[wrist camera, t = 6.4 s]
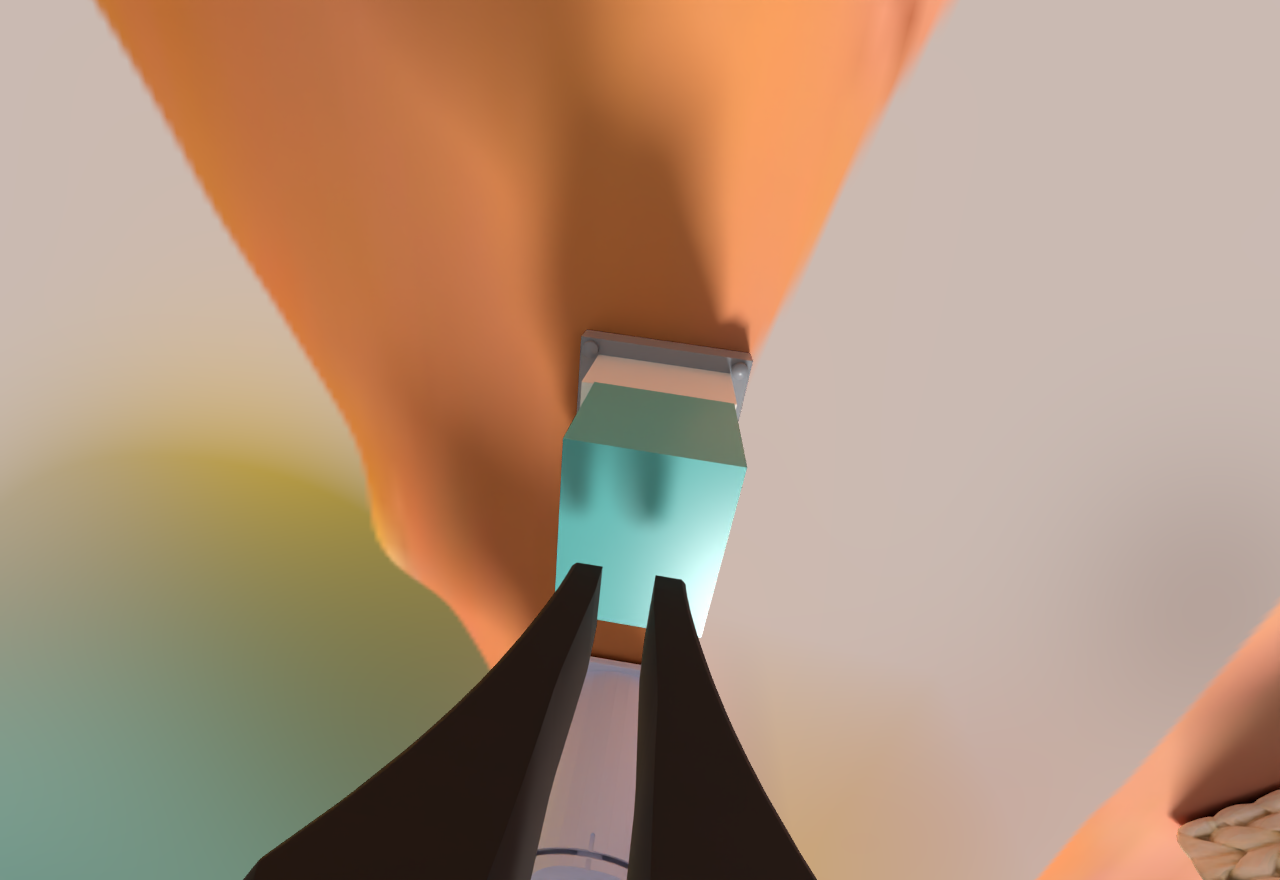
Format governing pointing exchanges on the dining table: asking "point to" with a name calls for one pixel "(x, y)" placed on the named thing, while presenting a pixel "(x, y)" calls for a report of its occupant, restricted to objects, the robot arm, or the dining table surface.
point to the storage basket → (1236, 841)
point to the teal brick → (649, 496)
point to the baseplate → (666, 357)
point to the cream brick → (659, 378)
